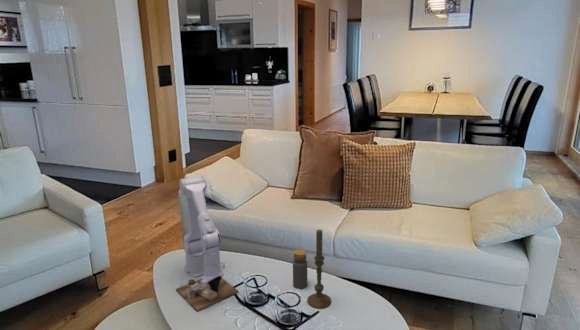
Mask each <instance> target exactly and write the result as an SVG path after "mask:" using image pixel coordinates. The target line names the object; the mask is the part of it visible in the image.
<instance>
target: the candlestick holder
mask: <svg viewBox="0 0 580 330" xmlns="http://www.w3.org/2000/svg"><path fill="white" fill-rule="evenodd" d="M315 233H316V234H315V235H316V236H315V237H316V242H315V243H316V245H315V248H316V250H315V252H316V255H315V256H314V257H313V260H314V265H315V266H316V284H315V285H314V290H315V293H312V294H310V295H308V297H307V300H306V303H307V304H308V306H310V307H312V308H313V309H319V310H320V309H326V308H329V306H330V305H331V304H332V300H331V297H330V296H329V295H327V294H326V293H323V291H324V284H322V274H323V271H322V270H323V268H322V266H324V264H325V263H324V260H325V256H324V255H323V230H322V229H317V230H316V231H315Z"/></svg>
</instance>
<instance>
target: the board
mask: <svg viewBox="0 0 580 330" xmlns="http://www.w3.org/2000/svg"><path fill="white" fill-rule="evenodd" d="M202 279H203V277H202V278H200V279H199V278H198V279H197V280H194V281H195V282H196V283H199V284H201V281H202ZM206 287H207V288H209V289H211V288H210V286H209V284H208V283H207V286H206ZM187 288H188V283H187V284H185V285H182V286H180V287H177V288H175V291H176V292H177V293H178V294H179V295H180V297H182V298H183V299H184V300H185V301H186V302H187V304H188V305H189V306H190V307H192V309H194V311H195V312H197V313H198V312H201V311H202V310H205V309H207V308H209V307H211V306H213V305H214V306H215V305H216V304H218V303H220V302H222V301H225V300H227V299H229V298H231V297H233V296H235V295H234V294H235V293H238V294H239V290H238V289H237V288H235V286H233V285H232V284H231V283H229V282H228V281H227V280H226V279H224V278H223V277H222V278H221V280H220V283H219V287H218V293H217V297H216V298H215V299H213V300H212V301H210V300H209V299H207V298H205V297H203V296H201V295H199V294H197V293H195V292H194V293H195V299H193V300H189V299H188V297H187V291H186V289H187Z"/></svg>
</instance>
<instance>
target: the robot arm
mask: <svg viewBox="0 0 580 330" xmlns="http://www.w3.org/2000/svg"><path fill="white" fill-rule="evenodd" d="M207 183H208V182H207V179H206V176H204V175H198V176H197V175H196V176H192V177H185V178H180V180H179V183H178V184H179V193H180V196H183V197H185V201H186V211H187V220H188V229H189V231H188V232H187V233H186V234H185V235H184V236H183V250H184V252H185V263H186V267H184V270H185V271H186V272H187V273H188V274H190V275H191V276H192V277H193V278H197V277H199V276H201V275H203V277H202V278H203V279H202V278H201V279H202V281H201V286H203V287H206V286H207V283H208V284H209V286H210V288H211V290H213V291H215V292H217V293H218V287H219V283H220V280H221V278H223V275H224V271H223V270H224V269H225V267H226V265H225V264H226V263H225V262H221V257H220V246H221V244H222V239H221V235H220V232H219V231H218V228H217V227H216V226H215V222H214V219H213V216H212V214H211V213H209V211H208V207H207V204H206V203H207V202H206V199H205V194H206V192H207V188H208V184H207Z"/></svg>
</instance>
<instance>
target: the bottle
mask: <svg viewBox="0 0 580 330" xmlns="http://www.w3.org/2000/svg"><path fill="white" fill-rule="evenodd" d="M293 252H294V253H293V261H292V286H293V287H294V288H295V289H297V290H303V289H306V288H307V287H308V261H307V254H306V253H307V252H306V250H304V249H302V248H301V249H300V248H299V249H295V250H294V251H293Z"/></svg>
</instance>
